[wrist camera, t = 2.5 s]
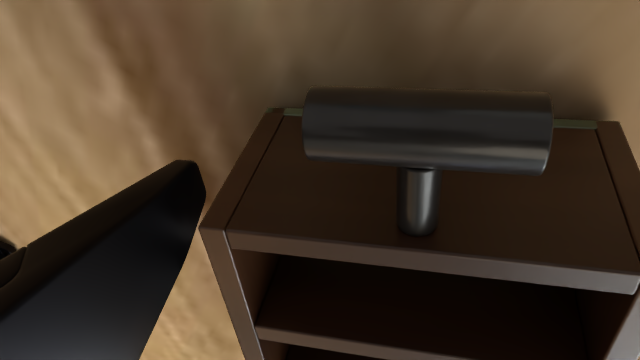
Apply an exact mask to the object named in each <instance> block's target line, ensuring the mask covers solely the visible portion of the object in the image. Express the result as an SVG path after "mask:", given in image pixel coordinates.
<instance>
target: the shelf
mask: <svg viewBox="0 0 640 360" xmlns="http://www.w3.org/2000/svg"><path fill="white" fill-rule="evenodd" d="M199 231H200V234H201V237H202V240H203V243H204V245H205V248H206V251H207V254H208V257H209V259H210V262H211V265H212V268H213V271H214V273H215V276H216V279H217V282H218V285H219V287H220V290H221V293H222V296H223V299H224V301H225V304H226V307H227V310H228V313H229V315H230V318H231V321H232V324H233V327H234V329H235V332H236V335H237V338H238V341H239V343H240V346H241V349H242V352H243V355H244V357H245V360H637V359H638V357H639V356H640V170H639V168H638V166H637V163H636V161H635V159H634V156H633V154H632V151H631V149H630V147H629V144H628V142H627V139H626V137H625V135H624V132H623V130H622V127H621V125H620V122H618V121H593V120H569V119H554V114H553V103H552V99H551V96H550V94H549V93H547V92H522V91H488V90H454V89H420V88H385V87H351V86H317V85H315V86H312V87H310V89H309V90H308V92H307V95H306V98H305V101H304V106H303V109H301V108H276V107H268V109H267V110H266V112H265V114H264V115H263V117H262V119H261V121H260V122H259V124H258V126H257V127H256V129H255V131H254V133H253V134H252V136H251V138H250V139H249V141H248V143H247V145H246V146H245V148H244V150H243V151H242V153H241V155H240V157H239V158H238V160H237V162H236V163H235V165H234V167H233V169H232V170H231V172H230V174H229V175H228V177H227V179H226V181H225V182H224V184H223V186H222V187H221V189H220V191H219V193H218V194H217V196H216V198H215V199H214V201H213V203H212V205H211V206H210V208H209V210H208V211H207V213H206V215H205V216H204V218H203V220H202V222H201V223H200V225H199Z"/></svg>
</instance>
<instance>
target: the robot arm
mask: <svg viewBox="0 0 640 360" xmlns="http://www.w3.org/2000/svg"><path fill="white" fill-rule="evenodd" d="M205 199H206V190H205V186H204V183H203V180H202V177H201V174H200V170H199V167H198V165H197V163H196V162H194V161H192V160H175V161H173V162H171V163H170V164H168V165H166V166H164V167H163V168H161V169H159V170H157V171H156V172H154V173H152V174H150V175H149V176H147V177H145V178H143V179H142V180H140V181H138V182H136V183H135V184H133V185H131V186H129V187H128V188H126V189H124V190H122V191H121V192H119V193H117V194H115V195H114V196H112V197H110V198H108V199H107V200H105V201H103V202H101V203H100V204H98V205H96V206H94V207H93V208H91V209H89V210H87V211H86V212H84V213H82V214H80V215H79V216H77V217H75V218H73V219H72V220H70V221H68V222H66V223H65V224H63V225H61V226H59V227H58V228H56V229H54V230H52V231H51V232H49V233H47V234H45V235H44V236H42V237H40V238H38V239H37V240H35V241H33V242H31V243H30V244H28V245H27V247H22V248H21V249H19V250H17V251H16V249H15V248H14V247H13V246H12V245H10V244H8V243H5V242H1V241H0V360H139V358H140V356H141V354H142V352H143V350H144V348H145V346H146V343H147V341H148V339H149V337H150V335H151V333H152V331H153V328H154V326H155V324H156V322H157V320H158V318H159V315H160V313H161V311H162V309H163V307H164V305H165V303H166V300H167V298H168V296H169V294H170V292H171V290H172V288H173V285H174V283H175V281H176V279H177V277H178V275H179V272H180V270H181V268H182V266H183V264H184V261H185V259H186V256H187V253H188V251H189V248H190V245H191V242H192V239H193V236H194V233H195V230H196V227H197V224H198V221H199V218H200V215H201V212H202V209H203V206H204V203H205Z"/></svg>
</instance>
